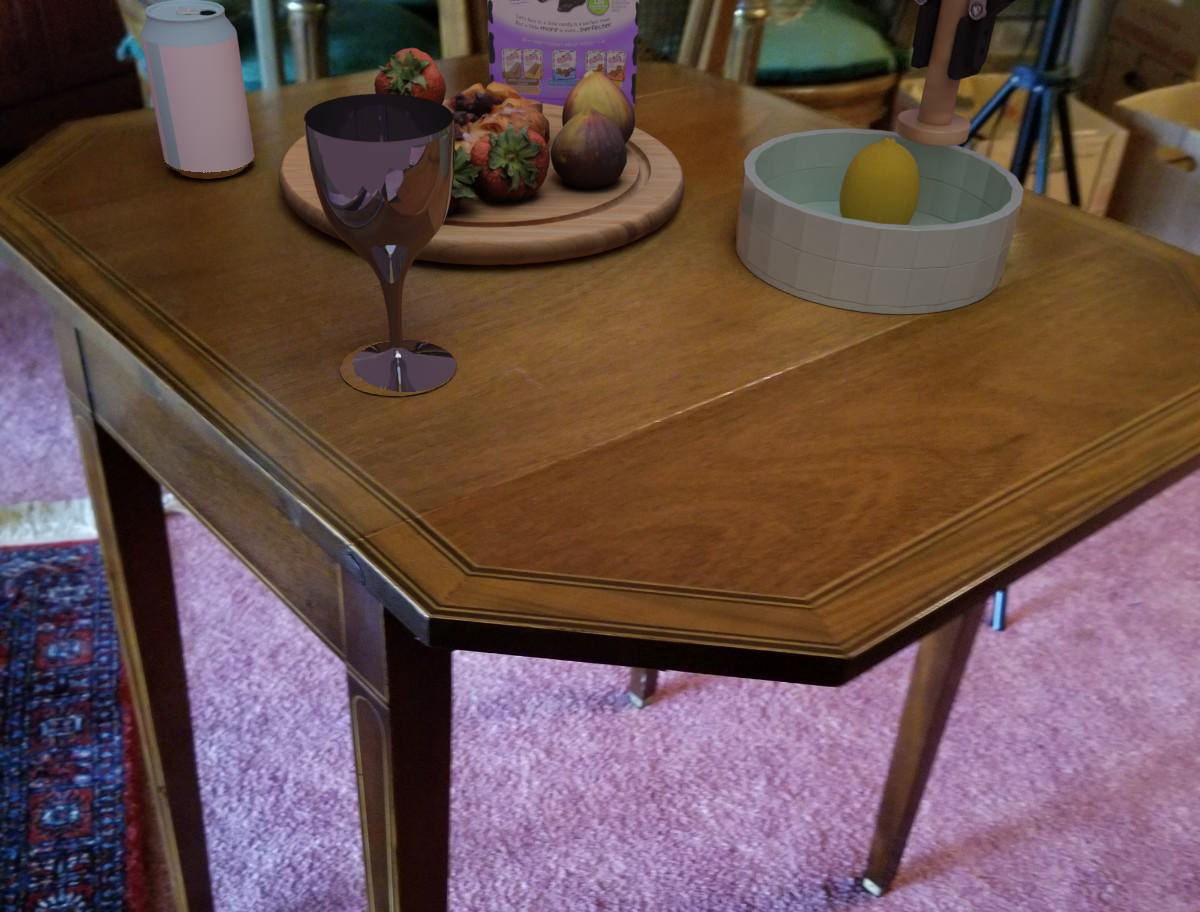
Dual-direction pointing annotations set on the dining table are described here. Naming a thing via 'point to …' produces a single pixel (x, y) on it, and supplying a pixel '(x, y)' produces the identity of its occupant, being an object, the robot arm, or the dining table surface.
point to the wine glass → (386, 209)
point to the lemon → (881, 185)
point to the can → (197, 86)
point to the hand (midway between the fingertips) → (945, 68)
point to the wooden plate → (526, 171)
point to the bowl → (875, 226)
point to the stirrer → (938, 89)
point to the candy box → (562, 45)
